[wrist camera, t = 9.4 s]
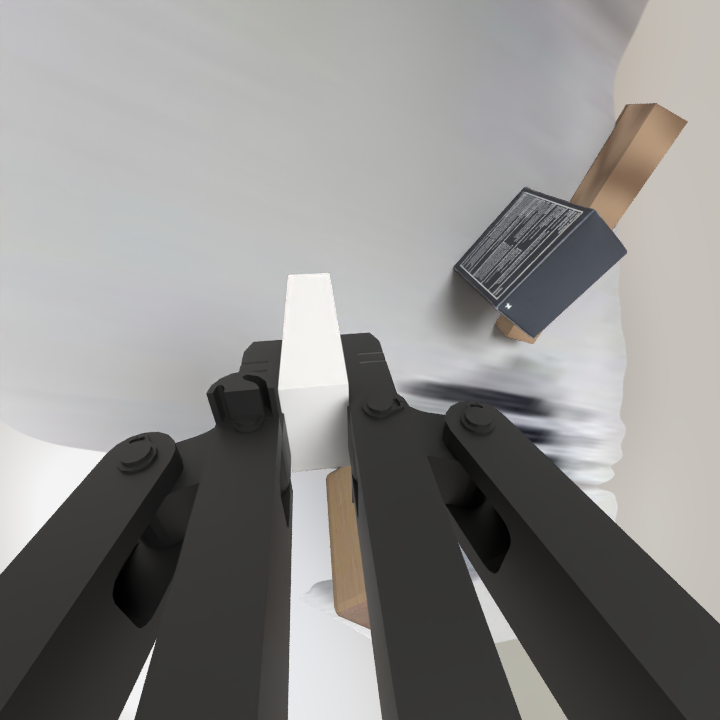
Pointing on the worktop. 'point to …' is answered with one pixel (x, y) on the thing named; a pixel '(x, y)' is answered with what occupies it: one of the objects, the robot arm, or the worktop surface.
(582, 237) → the small box
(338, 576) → the wooden block
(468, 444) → the robot arm
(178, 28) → the worktop surface
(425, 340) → the worktop surface
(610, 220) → the long brown wooden bar
